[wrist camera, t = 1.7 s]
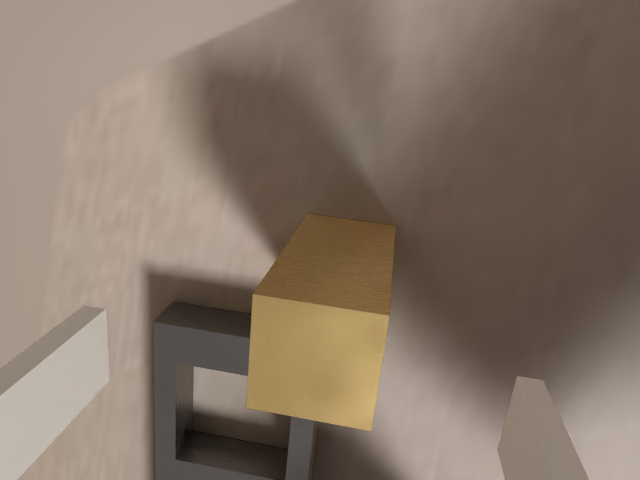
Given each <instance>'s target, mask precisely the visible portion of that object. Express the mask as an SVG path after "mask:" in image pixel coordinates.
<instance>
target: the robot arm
mask: <svg viewBox="0 0 640 480" xmlns="http://www.w3.org/2000/svg"><path fill="white" fill-rule="evenodd" d="M109 380H110V379H109V361H108V342H107V323H106V309H103V308H96V307H90V306H83V307H81V308H80V309H79V310H77V311H76V312H75V313H73V314H72V315H71V316H69V317H68V318H67V319H65V320H64V321H63V322H61V323H60V324H59V325H57V326H56V327H55V328H53V329H52V330H51V331H49V332H48V333H47V334H45V335H44V336H43V337H42V338H40V339H39V340H38V341H37V342H35V343H34V344H32V345H31V346H30V347H28V348H27V349H26V350H24V351H23V352H22V353H20V354H19V355H18V356H16V357H15V358H14V359H12V360H11V361H10V362H8V363H7V364H6V365H4V366H3V367H2V368H1V369H0V480H17V479H18V478H19V477H20V476H21V475H22V474H23V473H24V472H25V471H26V470H27V469H28V468H29V466H30V465H31V464H32V463H33V462H34V461H35V460H36V459H37V458H38V457H39V456H40V455H41V453H42V452H43V451H44V450H45V449H46V448H47V447H48V446H49V445H50V444H51V443H52V442H53V441H54V439H55V438H56V437H57V436H58V435H59V434H60V433H61V432H62V431H63V430H64V429H65V428H66V427H67V425H68V424H69V423H70V422H71V421H72V420H73V419H74V418H75V417H76V416H77V415H78V414H79V412H80V411H81V410H82V409H83V408H84V407H85V406H86V405H87V404H88V403H89V402H90V401H91V400H92V398H93V397H94V396H95V395H96V394H97V393H98V392H99V391H100V390H101V389H102V388H103V387H104V386H105V384H106V383H107V382H108V381H109ZM498 453H499V457H500V461H501V465H502V469H503V473H504V477H505V480H589V479H588V477H587V474H586V472H585V470H584V468H583V466H582V463H581V461H580V459H579V457H578V455H577V453H576V450H575V448H574V446H573V444H572V442H571V439H570V437H569V435H568V433H567V431H566V428H565V426H564V424H563V422H562V420H561V418H560V415H559V413H558V411H557V409H556V407H555V404H554V402H553V400H552V398H551V396H550V393H549V391H548V389H547V387H546V385H545V383H544V380H540V379H534V378H527V377H521V376H517V378H516V381H515V385H514V389H513V393H512V397H511V400H510V404H509V408H508V412H507V415H506V419H505V423H504V427H503V431H502V434H501V438H500V442H499V446H498Z"/></svg>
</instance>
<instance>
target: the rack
mask: <svg viewBox="0 0 640 480" xmlns="http://www.w3.org/2000/svg"><path fill="white" fill-rule="evenodd" d="M251 315H252V314H246V313H240V312H234V311H228V310H222V309H216V308H210V307H204V306H198V305H191V304H185V303H179V302H173V303H172V304H171V305H170V306H169V307H168V308H167V309H165V310H164V311H163V312H162V313H161V314H160V315H159V316H158V317H157V318H156V319H155V320H154V321H153V353H154V420H155V480H312V471H313V463H314V454H315V445H316V437H317V428H318V421H314V420H309V419H303V418H298V417H293V416H291V424H290V435H289V445H288V449H283V448H278V447H273V446H268V445H263V444H258V443H252V442H247V441H242V440H237V439H232V438H227V437H222V436H217V435H211V434H206V433H201V432H196V431H193V366H196V367H201V368H207V369H213V370H218V371H224V372H229V373H235V374H240V375H246V376H248V368H249V350H250V333H251Z"/></svg>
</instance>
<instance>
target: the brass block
mask: <svg viewBox="0 0 640 480" xmlns="http://www.w3.org/2000/svg"><path fill="white" fill-rule="evenodd" d="M395 227H396V226H394V225H386V224H379V223H372V222H365V221H357V220H350V219H343V218H336V217H328V216H321V215H314V214H307V216H306V217H305V219H304V220H303V221H302V223H301V224H300V226H299V227H298V229H297V230H296V232H295V233H294V235H293V236H292V238H291V239H290V240H289V242H288V243H287V245H286V246H285V248H284V249H283V251H282V252H281V254H280V255H279V256H278V258H277V259H276V261H275V262H274V264H273V265H272V267H271V268H270V270H269V271H268V272H267V274H266V275H265V277H264V278H263V280H262V281H261V283H260V284H259V286H258V287H257V289H256V290H255V291H254V293H253V298H252V315H251V333H250V350H249V368H248V386H247V403H246V408H250V409H255V410H261V411H266V412H271V413H277V414H282V415H287V416H293V417H298V418H303V419H309V420H314V421H319V422H325V423H330V424H335V425H341V426H346V427H351V428H357V429H362V430H367V431H372V424H373V418H374V412H375V405H376V399H377V393H378V386H379V380H380V374H381V367H382V361H383V355H384V348H385V342H386V336H387V329H388V323H389V317H390V303H391V288H392V273H393V258H394V243H395Z"/></svg>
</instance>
